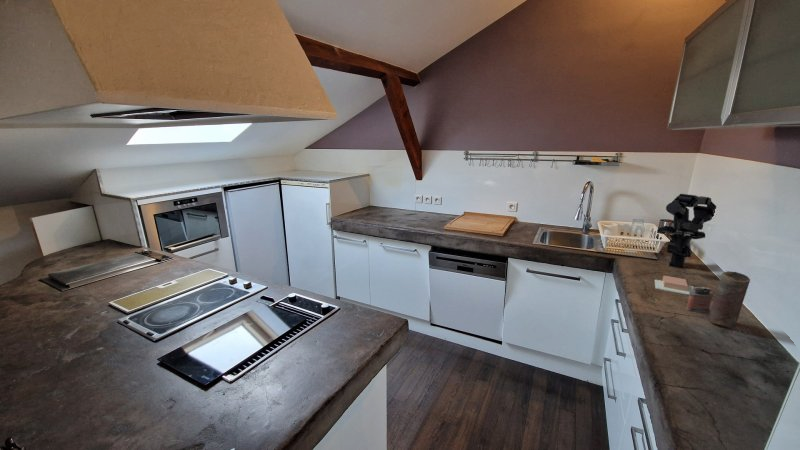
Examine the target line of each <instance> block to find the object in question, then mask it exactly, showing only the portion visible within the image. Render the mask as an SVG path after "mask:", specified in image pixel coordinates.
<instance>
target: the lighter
mask: <svg viewBox="0 0 800 450" xmlns="http://www.w3.org/2000/svg"><path fill="white" fill-rule="evenodd" d="M693 287H694V286H693ZM711 291H712V289H711V287H704V286H701V287H700V286H695V287H694V288H693V291H691V292H689V294H690V295H688V300H687V304H686V305H685V310H687V311H689V312H694V313H695V312H696V313H710V311H711V309H710V306H711V303H712V300H713V297H714V293H713V292H711Z"/></svg>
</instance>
